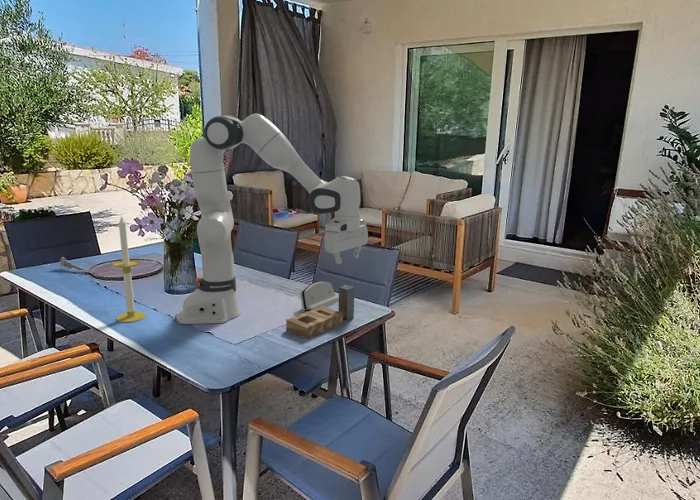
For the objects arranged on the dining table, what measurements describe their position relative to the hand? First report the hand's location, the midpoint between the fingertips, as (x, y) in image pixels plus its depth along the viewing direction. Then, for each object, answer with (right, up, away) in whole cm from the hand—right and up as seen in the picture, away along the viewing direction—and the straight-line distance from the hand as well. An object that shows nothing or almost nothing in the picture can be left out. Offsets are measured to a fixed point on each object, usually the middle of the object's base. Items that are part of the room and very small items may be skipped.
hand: (347, 260), depth 174 cm
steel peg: (0, -21, +5) cm, 22 cm away
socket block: (-11, -23, -3) cm, 26 cm away
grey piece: (-11, -18, +18) cm, 28 cm away
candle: (-78, -21, +2) cm, 81 cm away
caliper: (-127, -7, +54) cm, 139 cm away
